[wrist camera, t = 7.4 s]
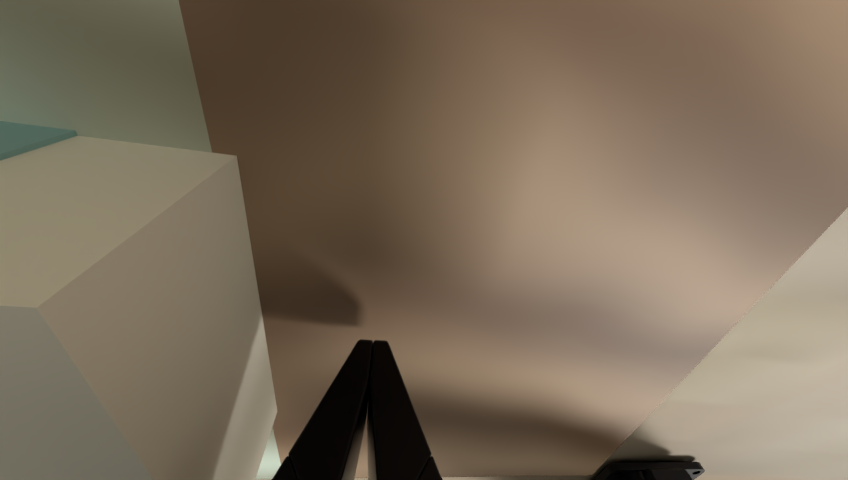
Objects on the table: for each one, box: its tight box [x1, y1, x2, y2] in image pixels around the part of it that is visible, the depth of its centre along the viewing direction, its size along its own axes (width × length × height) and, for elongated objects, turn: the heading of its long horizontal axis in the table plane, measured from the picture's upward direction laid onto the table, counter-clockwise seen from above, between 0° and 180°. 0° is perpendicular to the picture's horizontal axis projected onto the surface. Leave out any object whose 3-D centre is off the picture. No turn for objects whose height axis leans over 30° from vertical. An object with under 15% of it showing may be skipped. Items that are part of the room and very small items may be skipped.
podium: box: [0, 0, 848, 479], centre depth 11 cm, size 22×24×2 cm
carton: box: [0, 121, 277, 480], centre depth 7 cm, size 10×9×4 cm
